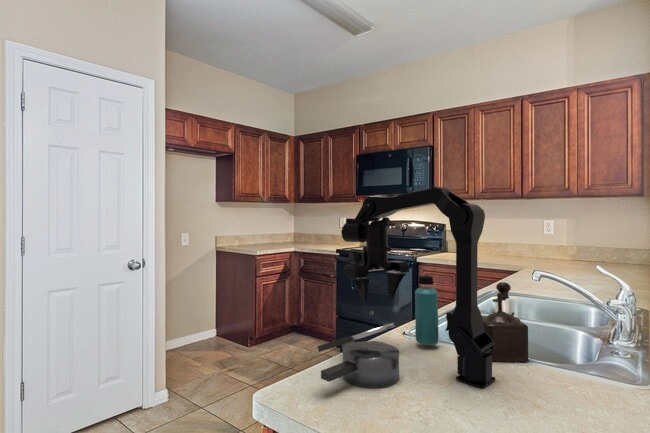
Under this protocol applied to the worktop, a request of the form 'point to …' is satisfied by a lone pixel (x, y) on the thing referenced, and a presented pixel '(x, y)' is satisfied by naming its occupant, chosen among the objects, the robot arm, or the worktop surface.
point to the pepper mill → (506, 332)
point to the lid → (353, 337)
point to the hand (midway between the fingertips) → (377, 300)
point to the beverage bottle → (426, 312)
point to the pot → (366, 365)
